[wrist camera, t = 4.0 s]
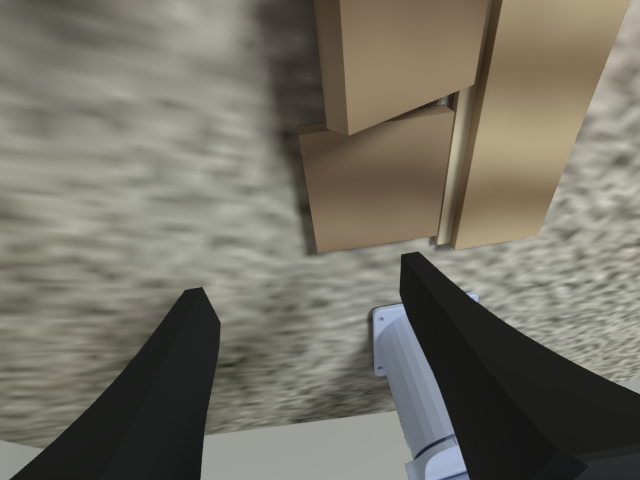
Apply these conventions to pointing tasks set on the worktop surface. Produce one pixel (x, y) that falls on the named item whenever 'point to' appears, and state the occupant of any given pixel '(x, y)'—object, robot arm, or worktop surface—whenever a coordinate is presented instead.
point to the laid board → (522, 115)
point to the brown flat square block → (377, 179)
